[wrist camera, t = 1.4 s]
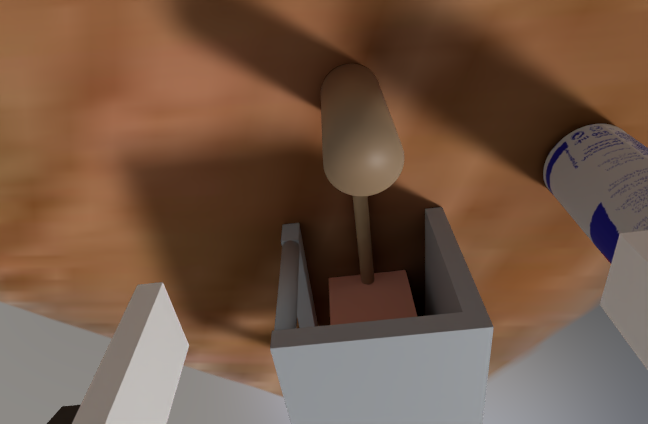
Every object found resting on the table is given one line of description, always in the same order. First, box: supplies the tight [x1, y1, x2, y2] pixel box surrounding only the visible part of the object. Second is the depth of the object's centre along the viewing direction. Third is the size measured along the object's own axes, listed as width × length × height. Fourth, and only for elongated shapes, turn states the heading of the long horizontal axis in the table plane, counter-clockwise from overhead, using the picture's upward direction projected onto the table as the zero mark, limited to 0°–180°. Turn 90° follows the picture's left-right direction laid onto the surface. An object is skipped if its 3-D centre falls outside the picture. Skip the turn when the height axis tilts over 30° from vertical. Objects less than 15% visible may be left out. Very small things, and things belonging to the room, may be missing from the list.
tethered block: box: [321, 63, 417, 325], centre depth 29 cm, size 22×6×9 cm, turn 7°
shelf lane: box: [270, 207, 493, 424], centre depth 32 cm, size 15×11×11 cm
